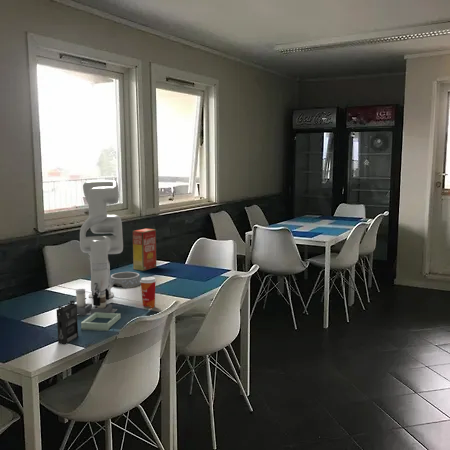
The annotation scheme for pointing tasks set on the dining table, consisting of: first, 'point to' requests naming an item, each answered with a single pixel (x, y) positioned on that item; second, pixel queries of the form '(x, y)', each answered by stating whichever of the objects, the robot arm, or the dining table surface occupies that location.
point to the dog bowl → (125, 279)
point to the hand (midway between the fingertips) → (101, 302)
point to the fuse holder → (94, 309)
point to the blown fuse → (102, 300)
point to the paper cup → (148, 291)
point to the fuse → (80, 298)
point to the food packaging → (144, 249)
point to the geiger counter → (67, 323)
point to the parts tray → (100, 326)
